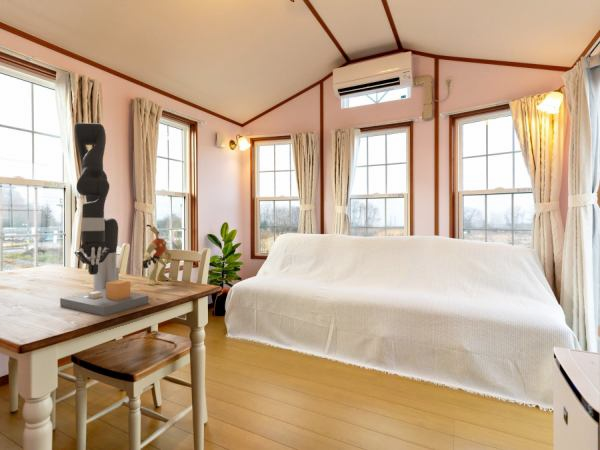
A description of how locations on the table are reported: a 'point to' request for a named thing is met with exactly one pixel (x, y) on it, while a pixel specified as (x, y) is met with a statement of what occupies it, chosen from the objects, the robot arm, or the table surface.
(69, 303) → the panel
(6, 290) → the table surface
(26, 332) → the table surface
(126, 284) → the orange cube
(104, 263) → the robot arm
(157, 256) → the toy
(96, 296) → the button
